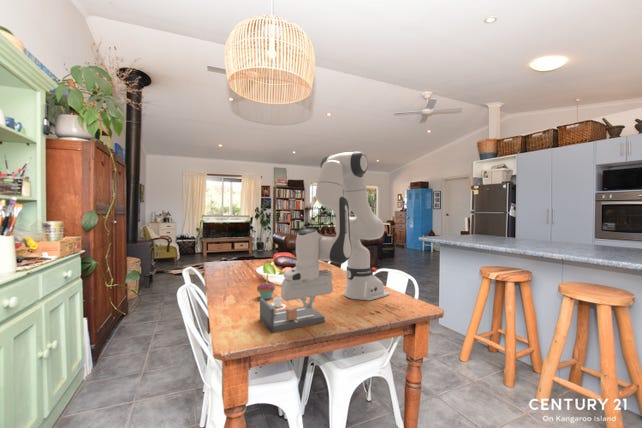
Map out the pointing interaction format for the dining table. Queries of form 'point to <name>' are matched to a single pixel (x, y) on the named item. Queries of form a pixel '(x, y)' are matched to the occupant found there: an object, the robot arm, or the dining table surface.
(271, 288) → the cupcake
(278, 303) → the teacup and saucer
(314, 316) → the console
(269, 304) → the cream fader knob
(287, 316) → the terracotta fader knob
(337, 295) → the dining table surface
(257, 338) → the dining table surface
